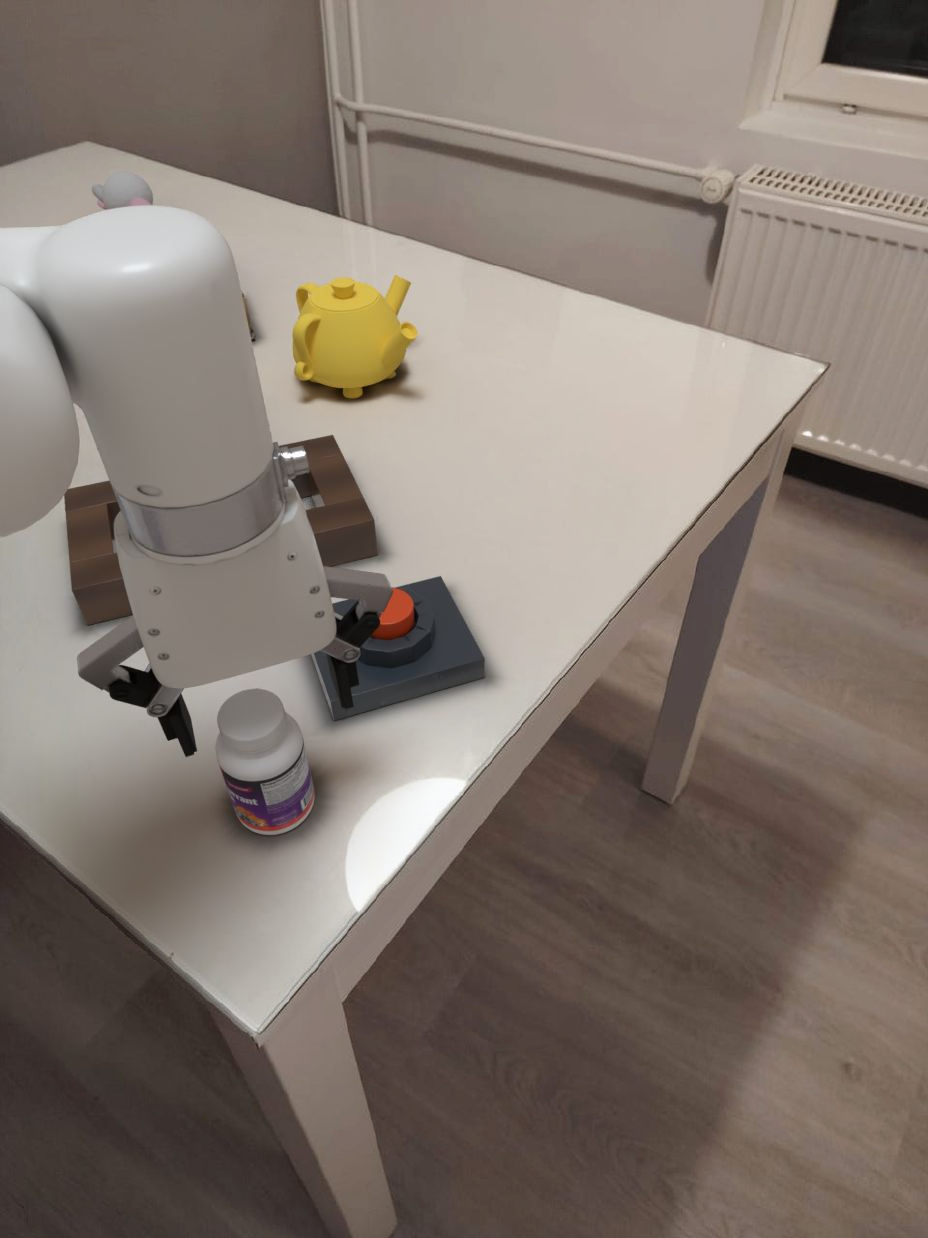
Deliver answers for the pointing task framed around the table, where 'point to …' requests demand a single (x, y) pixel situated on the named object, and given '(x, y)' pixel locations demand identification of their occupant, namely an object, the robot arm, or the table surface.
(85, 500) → the dock
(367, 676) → the dark grey flat piece
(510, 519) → the table surface
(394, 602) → the button
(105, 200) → the toy
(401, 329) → the teapot
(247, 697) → the pill bottle
